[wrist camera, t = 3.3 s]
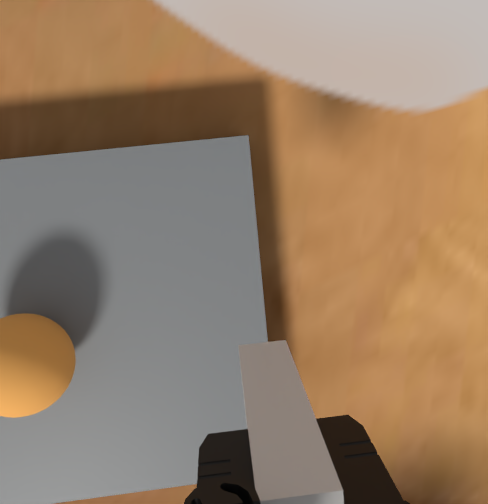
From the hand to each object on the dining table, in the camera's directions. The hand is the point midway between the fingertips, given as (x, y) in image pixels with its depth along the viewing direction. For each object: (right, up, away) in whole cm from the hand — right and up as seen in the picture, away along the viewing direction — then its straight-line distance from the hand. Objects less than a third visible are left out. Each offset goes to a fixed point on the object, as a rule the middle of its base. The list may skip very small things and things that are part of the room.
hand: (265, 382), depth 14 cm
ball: (-9, 0, +4) cm, 10 cm away
